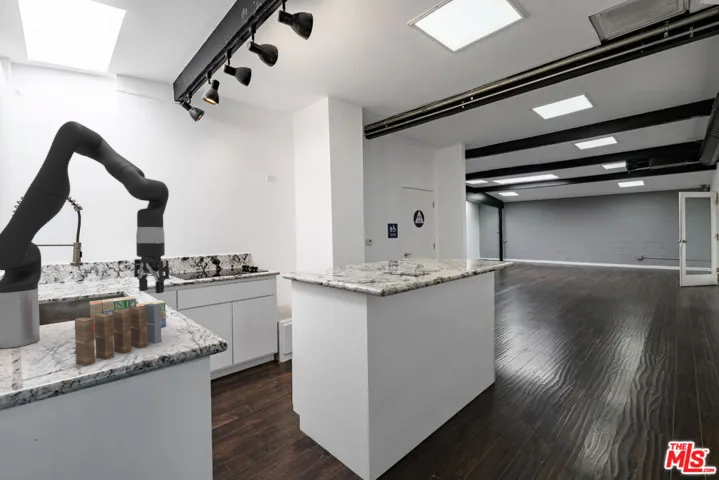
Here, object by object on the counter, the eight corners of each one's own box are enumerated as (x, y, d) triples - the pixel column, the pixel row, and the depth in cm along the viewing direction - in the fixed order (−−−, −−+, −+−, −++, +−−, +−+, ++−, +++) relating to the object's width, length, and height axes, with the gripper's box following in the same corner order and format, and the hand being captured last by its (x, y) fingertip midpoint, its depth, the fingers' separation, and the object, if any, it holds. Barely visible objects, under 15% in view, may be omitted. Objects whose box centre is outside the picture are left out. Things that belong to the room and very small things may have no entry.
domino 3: (123, 353, 90) (122, 312, 90) (113, 351, 92) (112, 311, 92) (131, 351, 92) (130, 311, 92) (121, 348, 94) (120, 309, 94)
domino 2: (105, 359, 86) (104, 316, 86) (95, 356, 88) (94, 315, 88) (114, 356, 88) (112, 315, 88) (104, 354, 90) (102, 313, 90)
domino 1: (85, 366, 82) (84, 321, 82) (76, 362, 84) (74, 319, 84) (95, 363, 84) (93, 319, 84) (85, 360, 86) (83, 317, 86)
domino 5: (155, 343, 98) (154, 306, 98) (145, 341, 100) (144, 304, 100) (161, 341, 100) (160, 304, 100) (151, 339, 102) (150, 303, 102)
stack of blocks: (162, 323, 121) (162, 292, 121) (166, 327, 116) (165, 294, 116) (90, 336, 107) (89, 300, 106) (91, 341, 102) (89, 303, 102)
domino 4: (140, 348, 94) (138, 309, 94) (130, 346, 96) (129, 307, 96) (147, 346, 96) (145, 307, 96) (137, 343, 98) (136, 306, 98)
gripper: (124, 241, 99) (125, 292, 99) (152, 242, 93) (153, 295, 93) (149, 241, 106) (150, 288, 106) (176, 241, 100) (177, 291, 100)
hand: (151, 291), depth 100 cm, fingers open, 8 cm apart
